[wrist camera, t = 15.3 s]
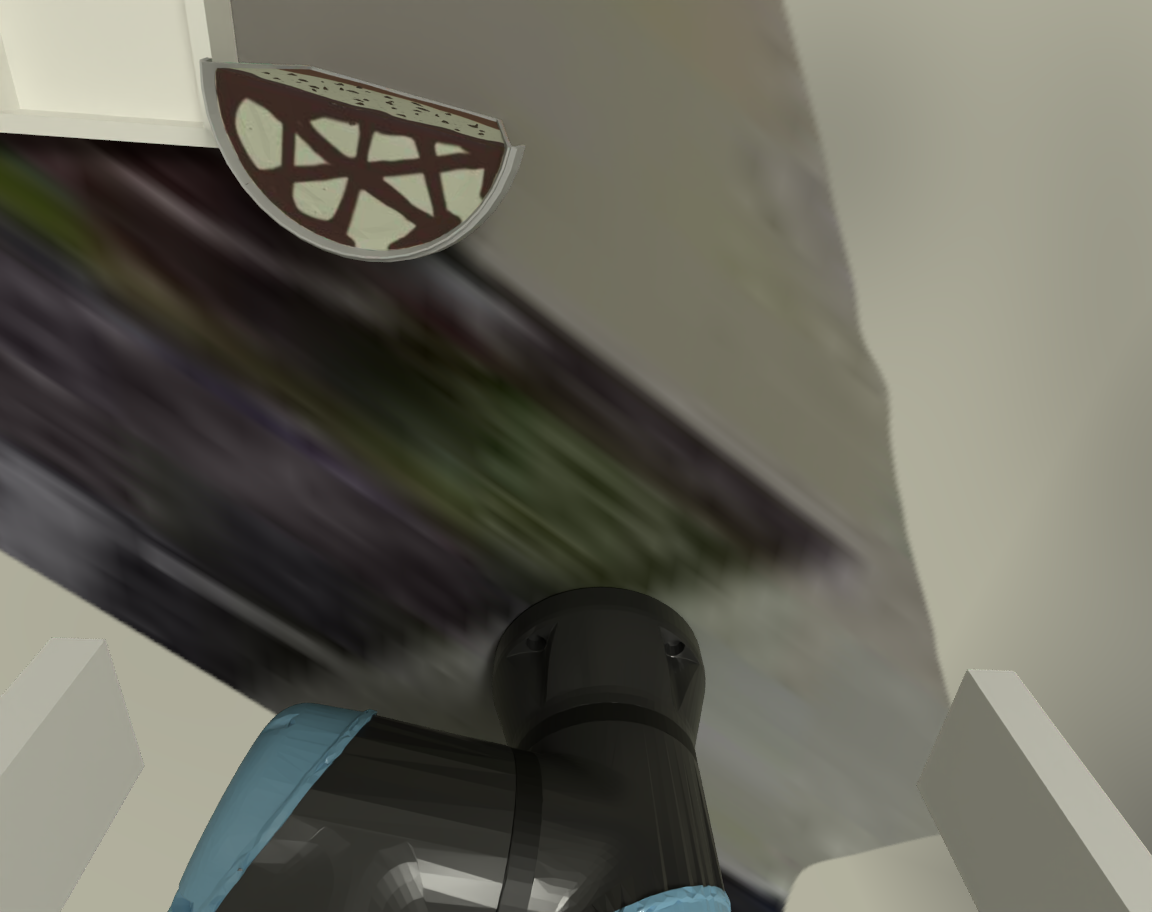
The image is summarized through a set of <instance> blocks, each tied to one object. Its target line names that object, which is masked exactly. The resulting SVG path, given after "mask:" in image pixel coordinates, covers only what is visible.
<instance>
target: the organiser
mask: <svg viewBox="0 0 1152 912" xmlns="http://www.w3.org/2000/svg"><path fill="white" fill-rule="evenodd" d="M206 57H208V58H212V62H231V63H238V56H237V49H236V41H235V33H234V26H233V18H232V10H231V3H230V0H0V132H2V133H16V134H30V135H44V136H58V137H72V138H86V139H100V140H114V141H128V142H142V143H156V144H170V145H184V146H198V147H211V148H219V147H218V145H217V143H216V141H215V138H214V135H213V132H212V129H211V126H210V123H209V121H208V118H207V115H206V110H205V105H204V100H203V95H202V90H201V79H200V64H199V62H200V59H203V58H206Z"/></svg>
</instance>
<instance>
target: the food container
mask: <svg viewBox="0 0 1152 912" xmlns="http://www.w3.org/2000/svg"><path fill="white" fill-rule="evenodd" d="M199 64H200V79H201V90H202V95H203V100H204V105H205V110H206V115H207V118H208V121H209V123H210V126H211V129H212V132H213V135H214V138H215V141H216V143H217V145H218V147H219V149H220V151H221V153H222V155H223V157H224V159H225V161H226V163H227V165H228V166H229V168H230V169H231V171H232V172H233V174H234V175H235V177H236V178H237V180H238V181H239V183H240V184H241V186H242V187H243V188H244V190H245V191H246V192H247V193H248V194H249V195H250V197H251V198H252V199H253V200H254V201H255V202H256V203H257V205H258V206H259V207H260V208H261V209H262V210H263V211H264V212H266V213H267V214H268V215H269V216H270V217H271V218H272V219H273V220H275V221H276V222H277V223H278V224H279V225H280V226H282V227H283V228H285V229H286V230H288V231H289V232H291V233H292V234H294V235H295V236H297V237H298V238H299V239H301V240H303V241H305V242H307V243H309V244H311V245H313V246H315V247H317V248H319V249H321V250H324V251H327V252H330V253H333V254H336V255H339V256H342V257H345V258H350V259H356V260H362V261H367V262H395V261H402V260H409V259H415V258H421V257H424V256H427V255H430V254H433V253H436V252H439V251H442V250H444V249H446V248H448V247H450V246H452V245H454V244H456V243H458V242H460V241H462V240H463V239H464V238H466V237H467V236H468V235H470V234H471V233H472V232H473V231H475V230H476V229H477V228H479V227H480V226H481V225H482V224H483V223H484V222H485V221H486V220H487V219H488V217H489V216H490V215H491V214H492V213H493V212H494V211H495V210H496V209H497V207H498V206H499V204H500V203H501V201H502V200H503V198H504V197H505V195H506V194H507V192H508V191H509V189H510V187H511V184H512V182H513V180H514V178H515V176H516V174H517V171H518V169H519V167H520V163H521V160H522V156H523V153H524V150H525V146H524V145H519V146H515V147H514V146H511V144H510V141H509V139H508V136H507V133H506V131H505V128H504V125H503V123H502V120H500V119H497V118H493V117H490V116H486V115H483V114H479V113H476V112H472V111H468V110H465V109H461V108H458V107H454V106H451V105H447V104H444V103H440V102H437V101H433V100H430V99H426V98H422V97H419V96H415V95H412V94H408V93H405V92H401V91H398V90H394V89H391V88H387V87H384V86H380V85H377V84H373V83H369V82H366V81H362V80H359V79H355V78H352V77H348V76H345V75H341V74H338V73H334V72H331V71H327V70H323V69H320V68H316V67H313V66H309V65H285V64H258V63H231V62H212V58H208V57H206V58H203V59H200V62H199Z"/></svg>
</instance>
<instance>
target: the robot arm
mask: <svg viewBox="0 0 1152 912" xmlns="http://www.w3.org/2000/svg"><path fill="white" fill-rule="evenodd" d="M492 692H493V700H494V704H495V708H496V711H497V714H498V717H499V720H500V723H501V726H502V729H503V732H504V735H505V738H506V741H507V745H508V746H506V745H502V744H497V743H493V742H488V741H484V740H479V739H474V738H470V737H465V736H461V735H456V734H452V733H448V732H444V731H439V730H435V729H431V728H427V727H423V726H419V725H415V724H410V723H406V722H402V721H398V720H394V719H390V718H386V717H381V716H377V711H374V710H371V709H368V710H366V711H364V712H361V711H355V710H350V709H344V708H338V707H332V706H327V705H321V704H315V703H300V704H296V705H293V706H291V707H288V708H287V709H285V710H283V711H282V712H280V713H279V714H277V715H276V716H275V717H274V718H273V719H272V720H271V721H270V722H269V723H268V725H267V726H266V727H265V728H264V730H263V731H262V732H261V733H260V735H259V736H258V738H257V739H256V741H255V742H254V744H253V745H252V747H251V748H250V750H249V752H248V753H247V755H246V757H245V758H244V760H243V761H242V763H241V765H240V766H239V768H238V770H237V772H236V773H235V775H234V777H233V779H232V780H231V782H230V784H229V786H228V787H227V789H226V791H225V793H224V795H223V796H222V798H221V800H220V802H219V804H218V806H217V808H216V810H215V811H214V813H213V815H212V817H211V819H210V821H209V823H208V825H207V826H206V829H205V830H204V832H203V834H202V836H201V838H200V840H199V842H198V844H197V846H196V848H195V850H194V852H193V855H192V857H191V859H190V861H189V863H188V865H187V867H186V870H185V872H184V874H183V876H182V879H181V881H180V883H179V889H178V891H177V893H176V895H175V897H174V900H173V902H172V905H171V907H170V908H169V910H168V912H731V908H730V901H729V898H728V896H727V894H726V892H725V890H724V886H723V881H722V876H721V871H720V867H719V862H718V857H717V852H716V848H715V843H714V838H713V833H712V829H711V824H710V819H709V814H708V810H707V805H706V800H705V795H704V790H703V786H702V781H701V776H700V771H699V768H698V763H697V758H696V752H695V744H696V739H697V733H698V727H699V722H700V716H701V711H702V705H703V699H704V694H705V670H704V665H703V661H702V657H701V653H700V649H699V645H698V642H697V639H696V637H695V635H694V633H693V631H692V630H691V628H690V627H689V625H688V624H687V623H686V621H685V620H684V619H683V618H682V617H681V616H680V615H679V614H678V613H677V612H675V611H674V610H673V609H671V608H670V607H669V606H667V605H666V604H664V603H662V602H660V601H658V600H656V599H654V598H652V597H650V596H647V595H644V594H641V593H638V592H634V591H630V590H625V589H618V588H603V587H598V588H585V589H578V590H573V591H568V592H564V593H561V594H558V595H555V596H552V597H550V598H548V599H545V600H543V601H541V602H539V603H537V604H536V605H534V606H532V607H531V608H529V609H528V610H526V611H525V612H524V613H523V614H521V615H520V616H519V617H518V618H517V619H516V620H515V621H514V622H513V623H512V624H511V625H510V626H509V628H508V629H507V630H506V632H505V633H504V635H503V636H502V638H501V640H500V642H499V645H498V647H497V650H496V654H495V659H494V669H493V679H492ZM143 767H144V763H143V760H142V756H141V753H140V750H139V747H138V743H137V740H136V737H135V734H134V730H133V727H132V724H131V721H130V717H129V714H128V711H127V707H126V704H125V701H124V698H123V694H122V691H121V688H120V685H119V682H118V678H117V675H116V672H115V668H114V665H113V662H112V658H111V655H110V652H109V649H108V645H107V642H106V639H87V638H85V639H84V638H57V637H52V638H51V639H50V640H49V641H48V642H47V643H46V644H45V646H44V647H43V648H42V649H41V650H40V652H39V653H38V654H37V655H36V656H35V657H34V658H33V660H32V661H31V662H30V663H29V664H28V666H26V668H25V669H24V670H23V671H22V672H21V673H20V675H19V676H18V677H17V678H16V679H15V680H14V682H13V683H12V684H11V685H10V686H9V687H8V689H7V690H6V691H5V692H4V693H3V694H2V696H1V697H0V912H61V910H62V908H63V906H64V904H65V903H66V901H67V899H68V898H69V896H70V894H71V892H72V891H73V889H74V887H75V886H76V884H77V882H78V880H79V878H80V877H81V875H82V873H83V872H84V870H85V868H86V866H87V865H88V863H89V861H90V859H91V858H92V856H93V854H94V852H95V851H96V849H97V847H98V845H99V844H100V842H101V840H102V839H103V837H104V835H105V833H106V832H107V830H108V828H109V826H110V825H111V823H112V821H113V819H114V818H115V816H116V814H117V812H118V811H119V809H120V807H121V805H122V804H123V802H124V800H125V799H126V797H127V795H128V793H129V792H130V790H131V788H132V786H133V785H134V783H135V781H136V779H137V778H138V776H139V774H140V773H141V771H142V769H143ZM916 786H917V788H918V790H919V792H920V794H921V796H922V798H923V800H924V802H925V804H926V806H927V808H928V810H929V812H930V814H931V816H932V818H933V820H934V822H935V824H936V826H937V828H938V830H939V832H940V834H941V836H942V838H943V840H944V842H945V844H946V846H947V848H948V851H949V852H950V855H951V857H952V859H953V860H954V863H955V865H956V867H957V869H958V871H959V873H960V875H961V877H962V879H963V881H964V883H965V885H966V887H967V889H968V891H969V893H970V895H971V897H972V899H973V901H974V903H975V905H976V907H977V909H978V911H979V912H1152V855H1151V854H1150V853H1149V851H1148V850H1147V849H1146V847H1145V846H1144V845H1143V843H1142V842H1141V841H1140V839H1139V838H1138V837H1137V835H1136V834H1135V833H1134V831H1133V830H1132V829H1131V827H1130V826H1129V825H1128V823H1127V822H1126V820H1125V819H1124V818H1123V816H1122V815H1121V814H1120V812H1119V811H1118V810H1117V808H1116V807H1115V806H1114V804H1113V803H1112V802H1111V800H1110V799H1109V798H1108V796H1107V795H1106V794H1105V792H1104V791H1103V790H1102V788H1101V787H1100V786H1099V784H1098V783H1097V781H1096V780H1095V779H1094V777H1093V776H1092V775H1091V773H1090V772H1089V771H1088V769H1087V768H1086V767H1085V765H1084V764H1083V763H1082V761H1081V760H1080V759H1079V757H1078V756H1077V755H1076V753H1075V752H1074V751H1073V749H1072V748H1071V747H1070V745H1069V744H1068V743H1067V741H1066V740H1065V738H1064V737H1063V736H1062V734H1061V733H1060V732H1059V730H1058V729H1057V728H1056V727H1055V725H1054V724H1053V722H1052V721H1051V720H1050V718H1049V717H1048V716H1047V714H1046V713H1045V712H1044V710H1043V709H1042V708H1041V706H1040V705H1039V704H1038V702H1037V701H1036V700H1035V698H1034V697H1033V695H1032V694H1031V693H1030V691H1029V690H1028V689H1027V687H1026V686H1025V685H1024V683H1023V682H1022V681H1021V679H1020V678H1019V677H1018V675H1017V674H1016V673H1015V671H1005V670H976V669H967V671H966V673H965V676H964V678H963V680H962V682H961V685H960V687H959V689H958V692H957V694H956V696H955V698H954V701H953V703H952V705H951V708H950V710H949V712H948V714H947V717H946V719H945V721H944V724H943V726H942V728H941V730H940V733H939V735H938V737H937V740H936V742H935V744H934V746H933V749H932V751H931V753H930V756H929V758H928V760H927V762H926V765H925V767H924V769H923V772H922V774H921V776H920V778H919V781H918V783H917V785H916Z"/></svg>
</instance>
